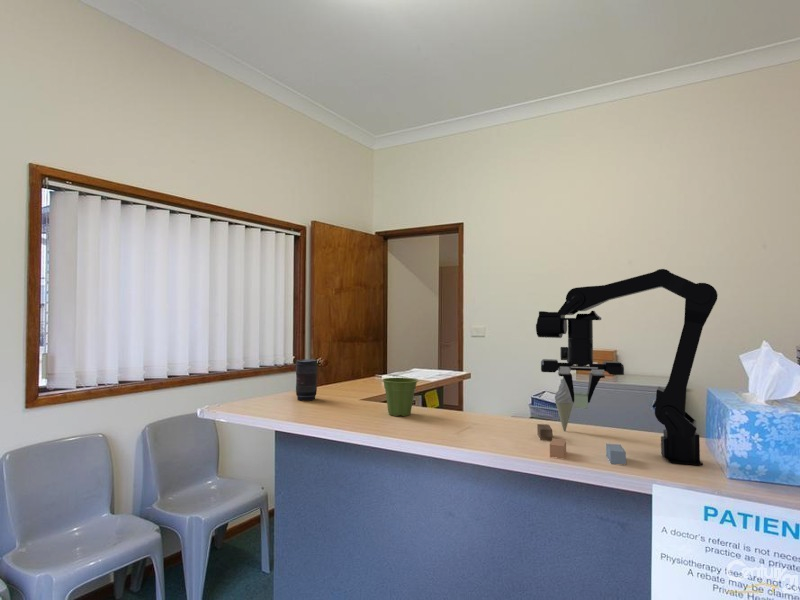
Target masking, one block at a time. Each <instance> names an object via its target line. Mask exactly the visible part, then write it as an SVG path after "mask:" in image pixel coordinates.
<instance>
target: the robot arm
mask: <svg viewBox="0 0 800 600" xmlns="http://www.w3.org/2000/svg"><path fill="white" fill-rule="evenodd" d="M660 288H662V289H665V290H667V291H669V292H671V293H673V294H675V295H677V296H679V297H681V298H683V299H684V300H685V301H684V302H685V303H684V320H683V327H682V330H681V332H680V333H681V334H680V338H679V341H678V345H677V348H676V352H675V357H674V360H673V363H672V367H671V372H670V375H669V379H668V381H667V384H666V385H665V387H664V388H663V387H661V386H658V387H657V389H656V393H655V394H656V396H655V400H654V401H653V404H652V407H651V408H655V409H654V415H655V418H656V420H657V421H658V422H659V423H660V424H662V425H663V426H664V428H665V429H663V435H662V436H660V451H661V452H660V454H661V456H662V457H663V458H664V459H665V460H666V461H667V462H668V463H671V464H682V465H683V464H684V465H692V466H693V465H694V466H704V463H703V461H702V460H701V449H700V448H701V447H700V446H701V445H700V443H701V442H700V434H699V433H698V432H697V420H696V419H694V418H693V417H692V416H691V415H690V414H689V413H688V412H687V411H686V409H687V408H686V404H687V402H686V401H687V386H688V383H689V379H690V375H691V371H692V368H693V365H694V361H695V357H696V354H697V350H698V347H699V343H700V339H701V335H702V333H703V332H702V331H703V328H704V325H706V323H707V320H708V318H709V317H710V315H711V313H712V311H713V309H714V307H715V305H716V303H717V300H718V295H719V294H718V291H717V290H716V288H715V287H714V286H712V285H711V284H709V283H707V282H697V283H695V282H693V281H691V280H689V279H686V278H684V277H682V276H680V275H678V274H674V273H673V272H671V271H670V270H668V269H665V268H660V269H657V270H655V271H652V272H648V273H644V274H641V275H637V276H634V277H630V278H625V279H622V280H619V281H618V280H617V281H614V282H611V283H606V284H601V285H591V286H578V287H573V288H571V289H570V290H569V291H568V292H567V294H566V296H565V302H564V303H563V304H562V305H561V307H560V309H559V310H558V311H542V310H541V311H538V317H537V321H536V324H535V331H536V335H537V337H538V338H549V339H551V338H552V339H553V338H554V339H555V338H556V339H561V338H563V335H566V334H567V346H560V361H566V362H559V361H558V359H553V358H552V359H548V358H543V359H542V360H541V361H540V372H542V373H556V372H557V371H558V372H557V375H558V377H562V378H563V377H564V379H565V381H566V384H567V386H568V389H569V392H570V395H571V398H572V402H574V392H575V388H574V381H573V374H572V373H571V371H588V372H589V371H590V372H589V373H588V385H587V392H586V393H587V395H588V404H589V403H590V402H591V400H592V397H593V394H594V391H595V389H596V387H597V385H599V381H600V380H601V379H605V378H606V375H605V372H606V373H608V374H609V375H615V376H616V375H617V376H624V375H625V368H624V364H623V363H622V362H620V361H618V360H616V361H614V360H612V361H611V360H603V361H602V363H594V345H593V344H594V341H593V340H594V337H593V335H594V329H593V328H594V327H593V326H594V324H593V321H601V320H602V317H601V316H600V315H598V313H596V311H595V310H592V309H594V308H596V307H599V306H601V305H602V304H604V303H607V302H609V301H611V300H616V299H620V298H624V297H627V296H631V295H635V294H639V293H643V292H647V291H651V290H655V289H660ZM589 310H591V311H590V312H589V313H578V312H586V311H589ZM575 314H576V316H575V317H566V316H574V315H575Z"/></svg>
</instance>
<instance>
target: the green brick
mask: <svg viewBox="0 0 800 600" xmlns="http://www.w3.org/2000/svg"><path fill="white" fill-rule="evenodd" d="M587 393H588V392H578V391H574V403H573V405H574V406H573V407H574V408H573V409H581V410H582V409H583V410H589V403H588V395H587Z"/></svg>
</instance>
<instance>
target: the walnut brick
mask: <svg viewBox="0 0 800 600" xmlns="http://www.w3.org/2000/svg"><path fill="white" fill-rule="evenodd" d="M536 427H537V430H536V431H537V436H538V438H540V439H539V440H540V441H544V440H547V441H548V442H551V441H552V439H553V428H552V427H551V425H550V424H548V423H547V424H543V423H537V425H536Z"/></svg>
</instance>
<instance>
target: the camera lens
mask: <svg viewBox="0 0 800 600" xmlns="http://www.w3.org/2000/svg"><path fill="white" fill-rule="evenodd" d="M295 375H296V381H295V383H296V384H295V394H296V396H297V397H296V399H297V401H302V400H309V401H314V400H316V395H317V390H318V388H317V387H318V383H317V382H318V361H317V359H307V358H306V359H297V360H296V362H295Z"/></svg>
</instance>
